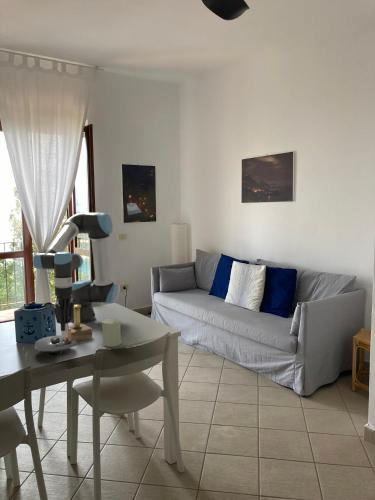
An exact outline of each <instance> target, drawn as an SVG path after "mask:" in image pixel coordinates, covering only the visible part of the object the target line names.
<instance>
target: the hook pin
mask: <svg viewBox="0 0 375 500" xmlns="http://www.w3.org/2000/svg"><path fill="white" fill-rule="evenodd" d="M73 308H74V322H73V325H74V330H77V329H80V324H81V323H80V308H81V305H80V304H76V305H74V307H73Z"/></svg>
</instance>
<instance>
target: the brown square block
mask: <svg viewBox="0 0 375 500" xmlns="http://www.w3.org/2000/svg"><path fill="white" fill-rule="evenodd" d="M68 328H71V337H73V338H74V339H75V343H76V341H77V342H80V340H81V341H85V340H90V339H92V338H93V328H92V327H90V326H87V325H86V324H83V323H80V329H77V330H74V324H73V325H68Z"/></svg>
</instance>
